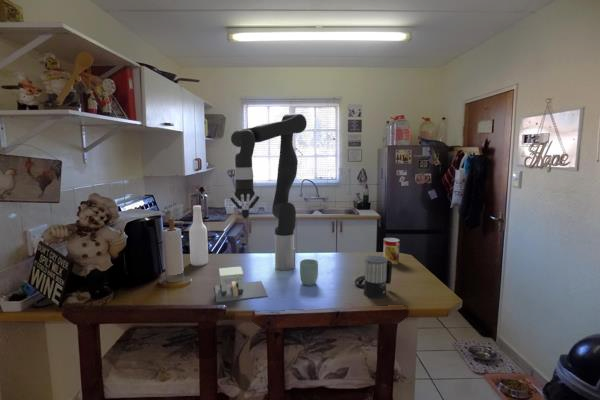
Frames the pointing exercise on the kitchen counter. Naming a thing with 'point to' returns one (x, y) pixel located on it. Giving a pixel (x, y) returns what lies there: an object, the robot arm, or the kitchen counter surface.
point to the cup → (309, 271)
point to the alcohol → (198, 239)
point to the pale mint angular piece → (229, 274)
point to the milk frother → (375, 276)
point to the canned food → (391, 250)
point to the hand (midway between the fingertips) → (245, 218)
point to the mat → (249, 292)
